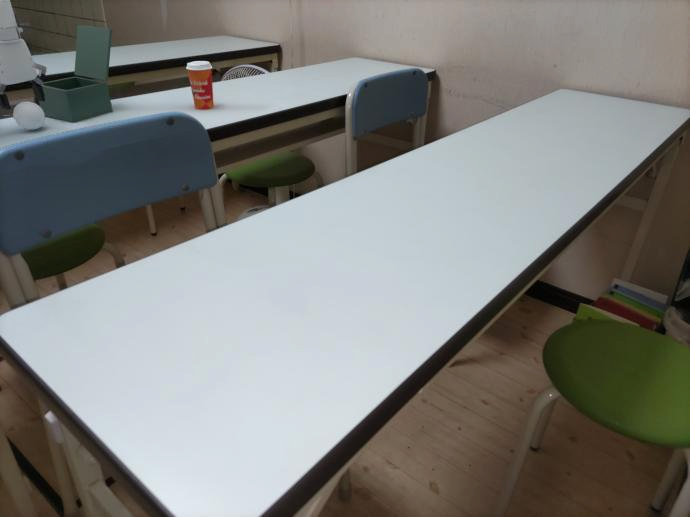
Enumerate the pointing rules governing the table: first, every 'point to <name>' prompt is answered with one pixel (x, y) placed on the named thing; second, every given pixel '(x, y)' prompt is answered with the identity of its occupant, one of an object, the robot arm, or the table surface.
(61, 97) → the bin
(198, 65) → the paper cup
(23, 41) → the robot arm
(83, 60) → the bin lid
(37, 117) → the white egg
